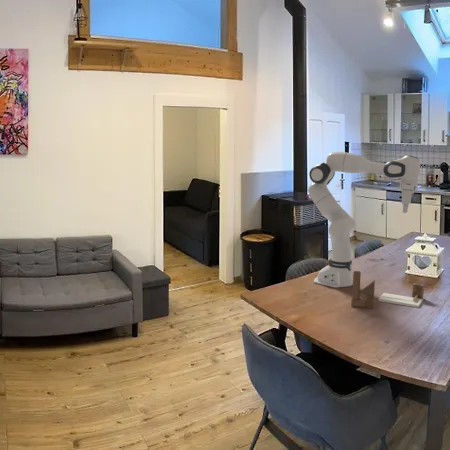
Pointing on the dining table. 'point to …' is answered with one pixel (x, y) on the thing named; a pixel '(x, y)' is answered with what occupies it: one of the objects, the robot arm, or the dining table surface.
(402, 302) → the board
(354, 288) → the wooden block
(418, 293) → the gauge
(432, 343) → the dining table surface
